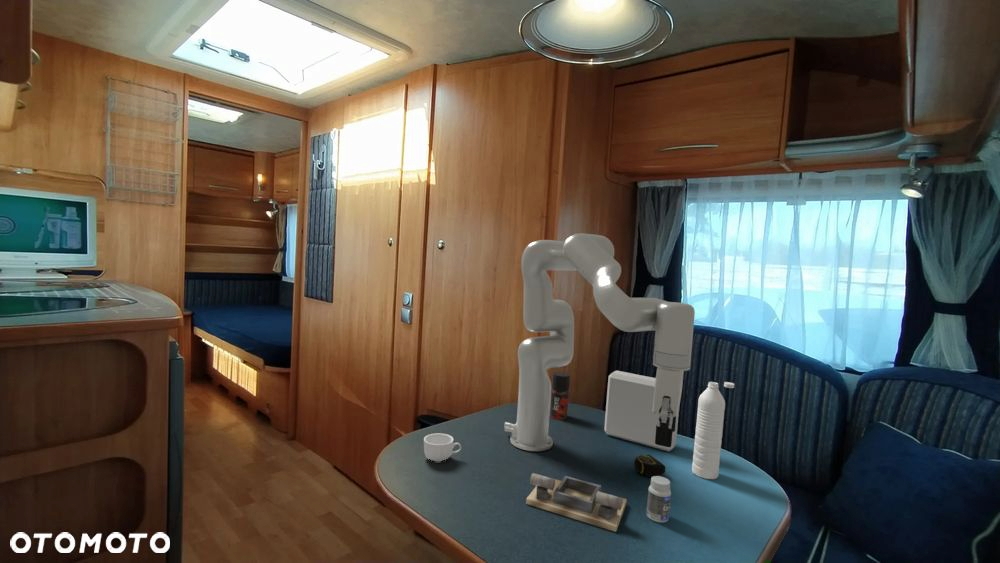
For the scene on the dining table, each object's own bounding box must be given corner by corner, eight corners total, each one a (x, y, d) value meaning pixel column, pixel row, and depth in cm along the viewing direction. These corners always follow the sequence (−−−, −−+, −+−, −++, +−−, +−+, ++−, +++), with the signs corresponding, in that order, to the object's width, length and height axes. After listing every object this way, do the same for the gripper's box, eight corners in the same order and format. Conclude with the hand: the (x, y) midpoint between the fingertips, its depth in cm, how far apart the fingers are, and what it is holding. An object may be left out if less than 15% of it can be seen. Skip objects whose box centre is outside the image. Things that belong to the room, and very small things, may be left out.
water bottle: (698, 479, 119) (707, 385, 118) (687, 467, 126) (695, 378, 124) (731, 480, 120) (740, 387, 118) (718, 469, 126) (727, 380, 124)
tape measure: (666, 478, 119) (667, 464, 119) (643, 480, 117) (645, 466, 117) (649, 465, 126) (651, 452, 126) (628, 468, 124) (629, 454, 123)
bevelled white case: (677, 445, 141) (683, 381, 139) (671, 454, 134) (677, 387, 133) (610, 427, 152) (615, 368, 151) (602, 435, 145) (607, 373, 144)
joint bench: (525, 503, 103) (527, 479, 102) (543, 480, 113) (545, 458, 113) (616, 532, 94) (618, 505, 94) (626, 504, 105) (628, 480, 105)
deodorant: (549, 418, 157) (552, 375, 156) (550, 412, 163) (553, 371, 162) (566, 420, 156) (570, 377, 155) (567, 414, 162) (570, 372, 161)
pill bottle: (666, 526, 97) (669, 487, 97) (643, 518, 100) (647, 480, 99) (670, 515, 101) (674, 479, 101) (649, 508, 104) (652, 472, 103)
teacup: (421, 465, 118) (422, 444, 117) (424, 451, 125) (425, 432, 125) (460, 466, 118) (461, 445, 118) (460, 453, 126) (461, 433, 126)
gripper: (657, 350, 108) (652, 421, 109) (648, 365, 92) (641, 447, 93) (692, 355, 105) (686, 428, 106) (688, 371, 89) (681, 456, 90)
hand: (665, 437), depth 99 cm, fingers open, 9 cm apart
